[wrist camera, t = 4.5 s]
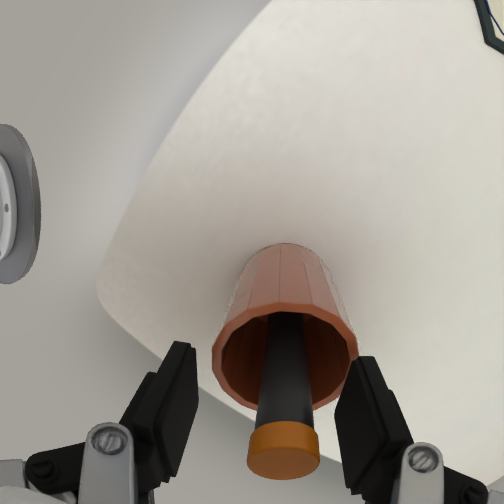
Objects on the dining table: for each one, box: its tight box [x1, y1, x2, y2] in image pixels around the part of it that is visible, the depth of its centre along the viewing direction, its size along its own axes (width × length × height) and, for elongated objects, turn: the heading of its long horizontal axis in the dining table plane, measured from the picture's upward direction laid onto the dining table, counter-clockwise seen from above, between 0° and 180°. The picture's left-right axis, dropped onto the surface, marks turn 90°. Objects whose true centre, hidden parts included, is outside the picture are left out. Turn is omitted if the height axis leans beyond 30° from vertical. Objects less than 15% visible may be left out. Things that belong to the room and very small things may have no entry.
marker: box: [247, 311, 320, 480], centre depth 12 cm, size 2×2×12 cm
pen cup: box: [212, 244, 359, 411], centre depth 14 cm, size 6×6×8 cm
